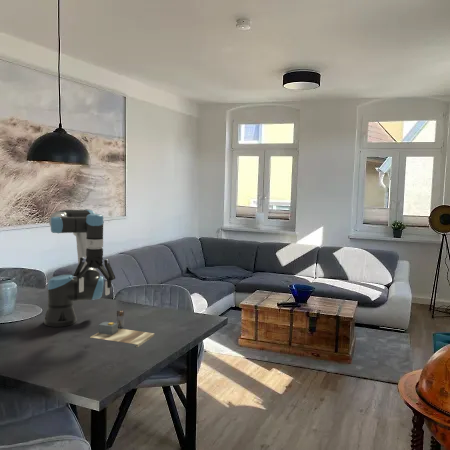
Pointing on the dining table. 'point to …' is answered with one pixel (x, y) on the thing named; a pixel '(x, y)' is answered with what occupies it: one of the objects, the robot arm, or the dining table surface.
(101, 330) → the block
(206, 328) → the dining table surface
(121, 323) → the metal cylinder
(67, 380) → the dining table surface
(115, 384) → the dining table surface
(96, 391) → the dining table surface
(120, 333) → the board
